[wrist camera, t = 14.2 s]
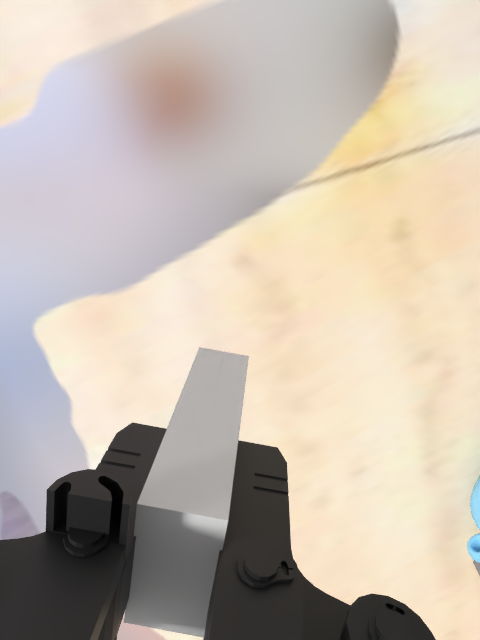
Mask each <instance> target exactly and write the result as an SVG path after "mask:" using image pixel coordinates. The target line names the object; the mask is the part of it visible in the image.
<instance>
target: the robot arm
mask: <svg viewBox="0 0 480 640" xmlns="http://www.w3.org/2000/svg"><path fill="white" fill-rule="evenodd" d="M248 358H249V356H244V355H239V354H233V353H228V352H222V351H217V350H211V349H206V348H200V347H199V350H198V352H197V355H196V357H195V360H194V362H193V365H192V367H191V370H190V372H189V375H188V377H187V380H186V382H185V385H184V387H183V390H182V392H181V395H180V397H179V400H178V402H177V405H176V407H175V410H174V412H173V415H172V417H171V420H170V422H169V425H168V427H167V429H164V428H159V427H153V426H148V425H142V424H137V423H131V424H130V425H128V426H127V427H125V428H124V429H122V430H121V431H119V432H118V433H117V434H116V436H115V437H114V439H113V441H112V442H111V444H110V446H109V448H108V451H106V453H105V455H104V456H103V458H102V460H101V463H99V465H98V467H97V468H96V470H91V469H87V470H82V471H77V472H72V473H70V474H68V475H66V476H64V477H62V478H60V479H58V480H56V481H55V482H54V483H53V484H52V485H51V486H50V487H49V488H48V489H47V507H46V532H44V533H41V534H38V535H35V536H31V537H25V538H20V539H9V540H0V640H117V633H118V630H119V627H120V624H121V620H122V618H123V615H124V612H125V618H124V622H125V623H130V624H135V625H141V626H146V627H151V628H156V629H162V630H167V631H172V632H178V633H183V634H188V635H194V636H199V637H204V640H436V639H435V638H434V636H433V634H432V632H431V631H430V630H429V628H428V627H427V626H426V624H425V623H424V622H423V620H422V619H421V618H420V616H418V615H417V614H416V613H415V612H414V611H412V610H411V609H410V608H409V607H408V606H406V605H405V604H403V603H401V602H399V601H397V600H395V599H393V598H391V597H389V596H384V595H377V594H369V595H365V596H362V597H359V598H358V599H357V600H356V601H355V602H354V603H353V604H352V605H351V606H350V605H348V604H346V603H344V602H342V601H340V600H338V599H336V598H334V597H332V596H330V595H328V594H326V593H324V592H323V591H321V590H320V589H318V588H316V587H315V586H314V585H313V584H311V583H310V582H309V581H308V580H307V579H306V578H305V577H304V576H303V574H302V573H301V572H300V571H299V569H298V568H297V564H296V562H295V561H294V559H293V556H292V551H291V539H290V518H289V497H288V482H287V480H288V476H287V462H286V461H285V459H284V457H283V456H282V454H281V452H280V451H279V449H278V448H277V447H271V446H266V445H260V444H255V443H249V442H244V441H238V438H239V430H240V422H241V414H242V406H243V398H244V390H245V382H246V374H247V366H248Z"/></svg>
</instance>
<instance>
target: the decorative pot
mask: <svg viewBox="0 0 480 640" xmlns="http://www.w3.org/2000/svg"><path fill="white" fill-rule="evenodd" d="M470 507H471V512H472V517H473V519H474V521H475V523H476V525H477V527H478V528H479V530H480V476H479V478H478V480H477V482H476V483H475V485H474V488H473V492H472V495H471V502H470ZM467 548H468V552H469V555H470V556H471V557H472V559H473V560H475V561H476V562H478V563H480V534H476V535H474V536H472V537H471V538H470V540H469V541H468V543H467Z"/></svg>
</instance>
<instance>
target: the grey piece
mask: <svg viewBox="0 0 480 640" xmlns="http://www.w3.org/2000/svg"><path fill="white" fill-rule="evenodd" d="M473 563H474V565H475V567H476V569H477V571H478V573H479V575H480V563H478V562H476V561H475V560H474V562H473Z"/></svg>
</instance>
